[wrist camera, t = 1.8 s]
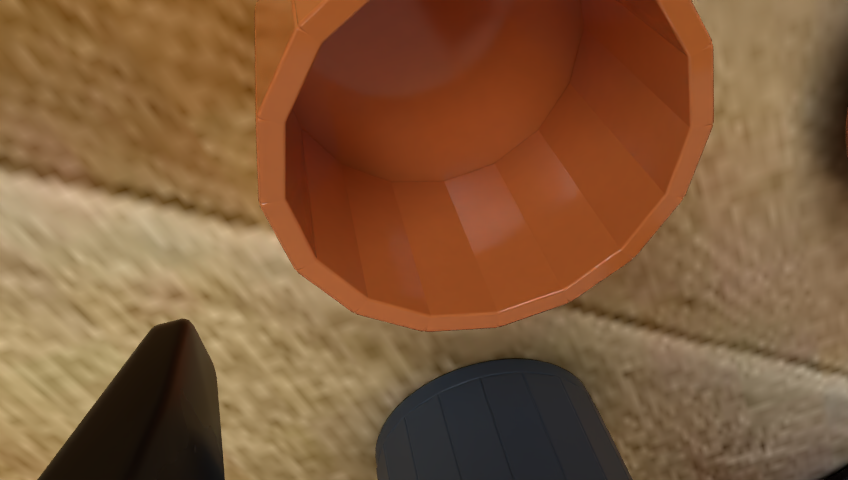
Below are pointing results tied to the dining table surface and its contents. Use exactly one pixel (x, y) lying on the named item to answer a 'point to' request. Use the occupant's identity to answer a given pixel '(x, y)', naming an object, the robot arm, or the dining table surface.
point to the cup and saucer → (847, 133)
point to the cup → (474, 146)
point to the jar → (499, 428)
